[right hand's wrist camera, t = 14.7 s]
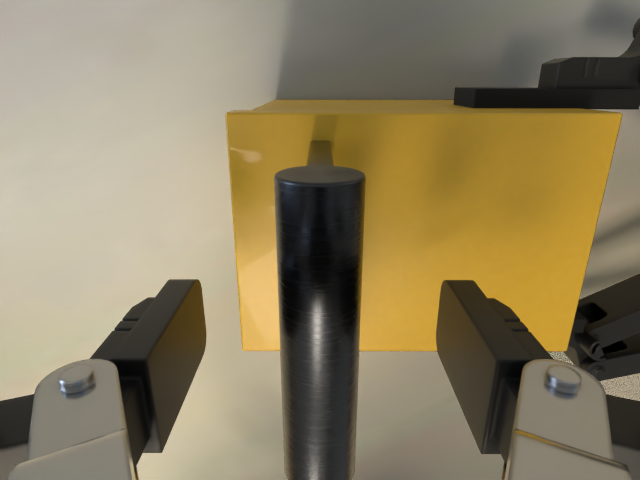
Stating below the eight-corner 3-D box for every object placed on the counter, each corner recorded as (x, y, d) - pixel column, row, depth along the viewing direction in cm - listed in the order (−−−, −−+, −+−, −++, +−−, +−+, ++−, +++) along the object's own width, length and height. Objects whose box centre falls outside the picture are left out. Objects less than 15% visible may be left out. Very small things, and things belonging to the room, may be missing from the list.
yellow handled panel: (247, 334, 19) (193, 520, 11) (232, 110, 16) (139, 141, 8) (551, 334, 19) (721, 521, 11) (600, 110, 16) (894, 142, 8)
